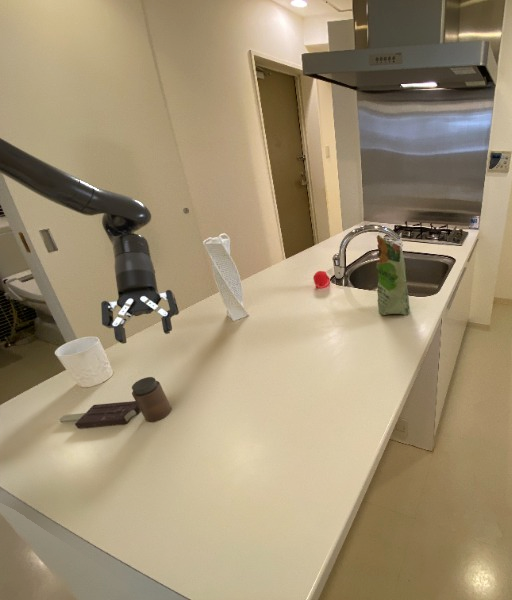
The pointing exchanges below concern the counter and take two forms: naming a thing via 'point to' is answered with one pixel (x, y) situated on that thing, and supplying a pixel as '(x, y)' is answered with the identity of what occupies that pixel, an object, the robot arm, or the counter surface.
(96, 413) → the ice cream bar
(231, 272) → the skyscraper
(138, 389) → the pepper mill
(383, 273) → the pouch
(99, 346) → the white cup
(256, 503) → the counter surface
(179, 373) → the counter surface
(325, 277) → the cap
